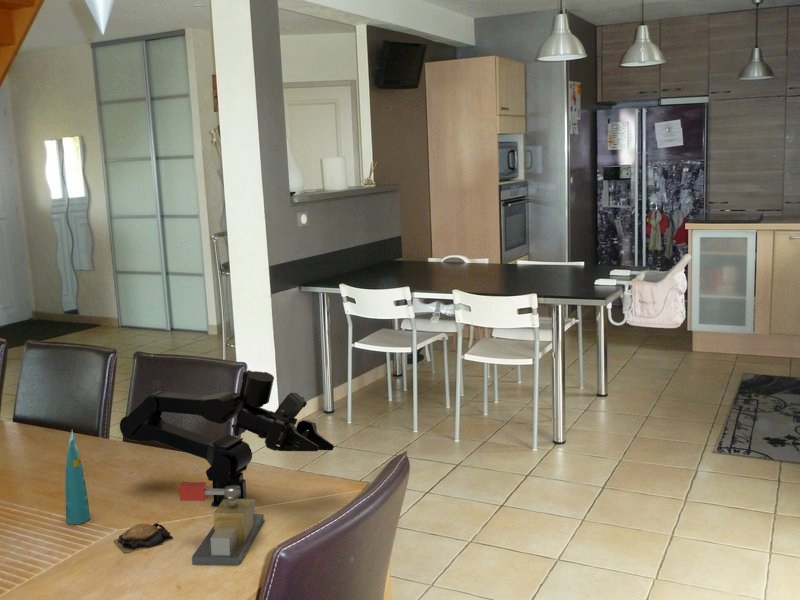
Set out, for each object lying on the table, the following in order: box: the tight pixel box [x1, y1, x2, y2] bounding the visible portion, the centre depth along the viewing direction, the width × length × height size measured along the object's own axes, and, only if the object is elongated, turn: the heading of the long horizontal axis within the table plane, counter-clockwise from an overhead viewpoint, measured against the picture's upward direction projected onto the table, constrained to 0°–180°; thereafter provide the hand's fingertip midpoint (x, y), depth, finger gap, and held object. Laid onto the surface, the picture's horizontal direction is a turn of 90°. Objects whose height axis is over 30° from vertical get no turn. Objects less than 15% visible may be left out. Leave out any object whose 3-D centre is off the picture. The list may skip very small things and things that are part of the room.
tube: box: [64, 429, 91, 525], centre depth 176 cm, size 7×5×19 cm, turn 26°
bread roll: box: [112, 522, 174, 555], centre depth 167 cm, size 11×8×4 cm
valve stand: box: [191, 498, 265, 566], centre depth 165 cm, size 9×20×9 cm, turn 175°
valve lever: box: [178, 481, 241, 502], centre depth 164 cm, size 12×3×3 cm, turn 85°
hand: (325, 448), depth 175 cm, fingers open, 9 cm apart
